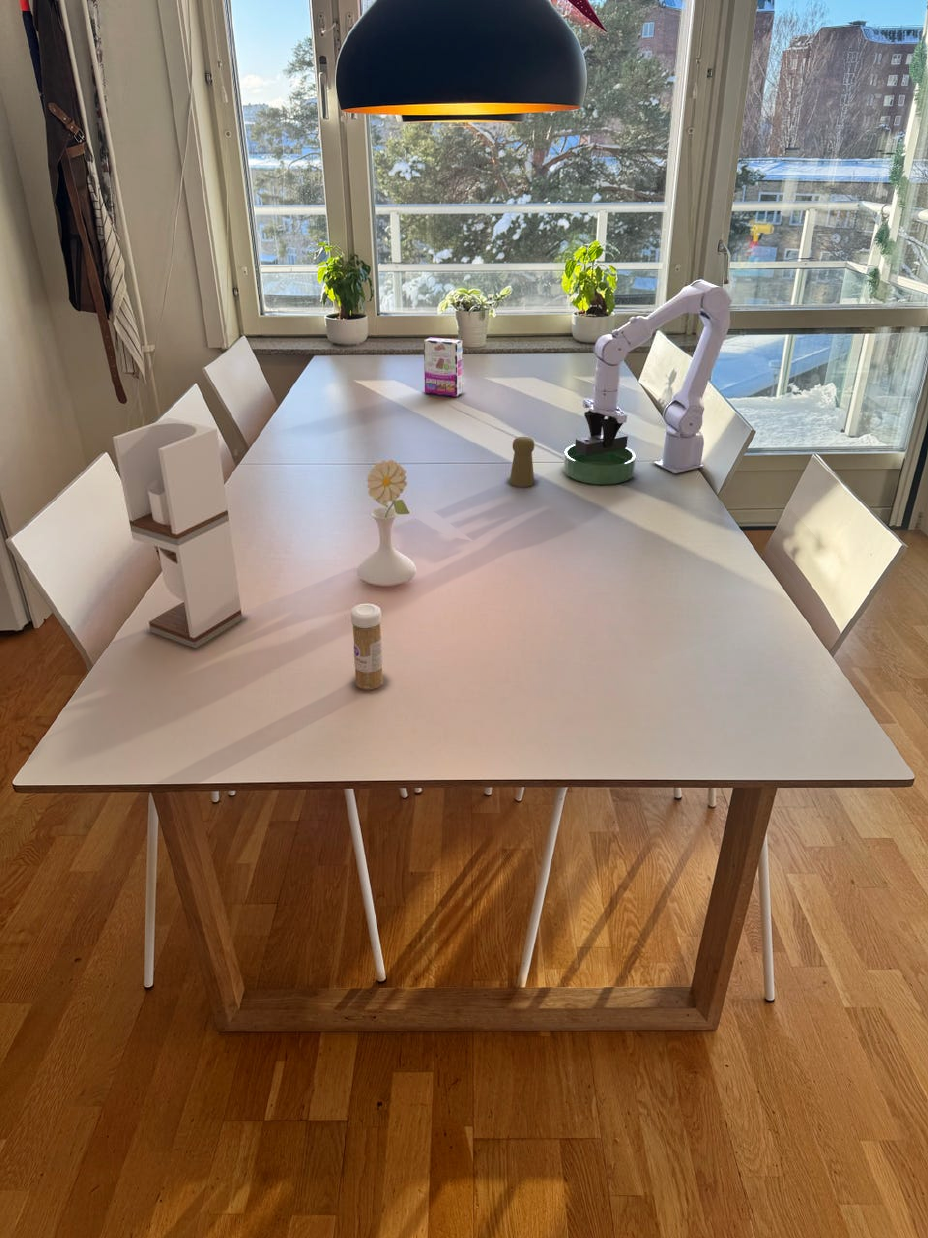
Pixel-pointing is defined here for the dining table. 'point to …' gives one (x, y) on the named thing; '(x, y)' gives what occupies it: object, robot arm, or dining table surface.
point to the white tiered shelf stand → (183, 523)
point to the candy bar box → (443, 366)
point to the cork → (522, 462)
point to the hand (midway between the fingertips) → (601, 443)
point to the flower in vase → (386, 528)
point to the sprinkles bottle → (367, 646)
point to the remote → (599, 444)
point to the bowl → (600, 466)
